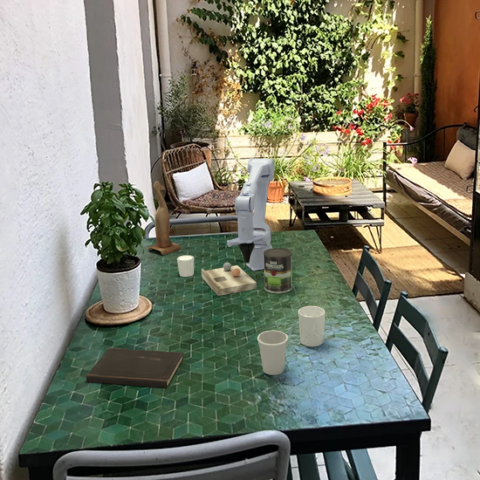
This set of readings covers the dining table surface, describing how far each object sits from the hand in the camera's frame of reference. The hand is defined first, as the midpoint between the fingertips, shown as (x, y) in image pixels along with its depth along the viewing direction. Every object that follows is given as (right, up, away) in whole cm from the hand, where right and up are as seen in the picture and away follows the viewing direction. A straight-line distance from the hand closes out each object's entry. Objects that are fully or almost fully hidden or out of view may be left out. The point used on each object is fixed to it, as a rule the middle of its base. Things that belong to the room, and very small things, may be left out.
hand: (246, 261), depth 222 cm
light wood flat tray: (-7, -8, +1) cm, 11 cm away
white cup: (+19, -23, -46) cm, 55 cm away
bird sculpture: (-37, +3, +41) cm, 55 cm away
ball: (-4, -4, 0) cm, 6 cm away
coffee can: (+12, -10, -6) cm, 16 cm away
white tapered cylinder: (-24, -6, +11) cm, 27 cm away
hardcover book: (-32, -29, -57) cm, 72 cm away
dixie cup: (+7, -28, -60) cm, 67 cm away
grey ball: (-8, -2, +6) cm, 10 cm away
